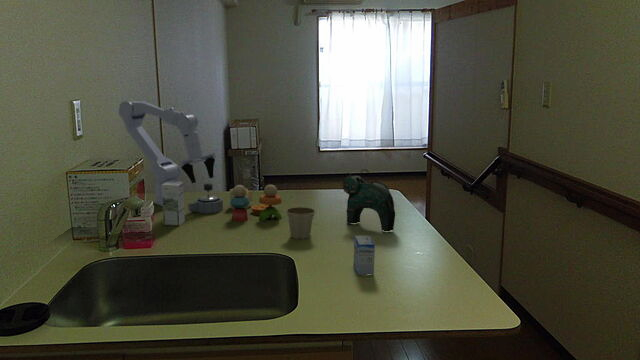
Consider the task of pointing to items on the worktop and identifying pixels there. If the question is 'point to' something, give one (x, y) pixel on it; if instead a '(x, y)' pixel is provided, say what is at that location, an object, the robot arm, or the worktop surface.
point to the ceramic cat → (369, 200)
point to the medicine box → (364, 255)
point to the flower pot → (300, 221)
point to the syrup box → (173, 203)
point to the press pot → (206, 206)
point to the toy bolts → (263, 210)
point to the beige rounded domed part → (248, 195)
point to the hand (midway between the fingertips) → (202, 180)
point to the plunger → (208, 193)
